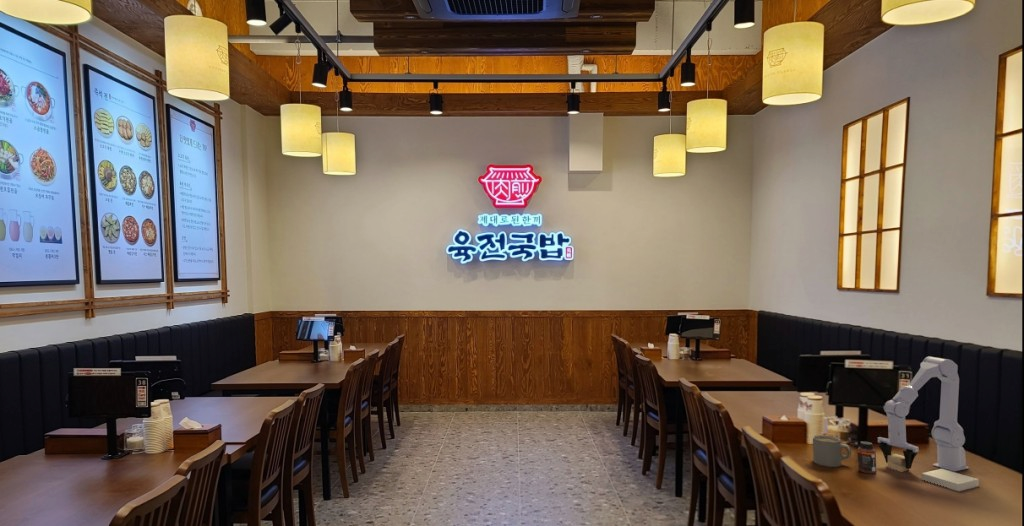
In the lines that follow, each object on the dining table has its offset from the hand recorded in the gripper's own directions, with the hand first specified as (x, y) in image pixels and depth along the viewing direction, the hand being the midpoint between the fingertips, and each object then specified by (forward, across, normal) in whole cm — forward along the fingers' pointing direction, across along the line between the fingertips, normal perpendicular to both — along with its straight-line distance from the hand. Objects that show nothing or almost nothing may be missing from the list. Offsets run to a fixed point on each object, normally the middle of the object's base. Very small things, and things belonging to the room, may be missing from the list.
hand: (898, 465), depth 211 cm
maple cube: (+2, 0, 0) cm, 2 cm away
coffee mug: (+2, -15, -18) cm, 23 cm away
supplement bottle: (+2, -3, -14) cm, 14 cm away
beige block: (+2, +17, +2) cm, 17 cm away
